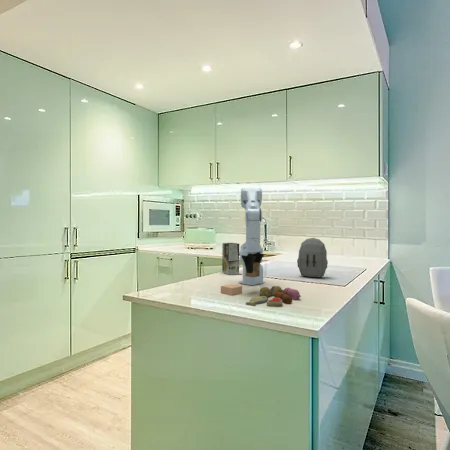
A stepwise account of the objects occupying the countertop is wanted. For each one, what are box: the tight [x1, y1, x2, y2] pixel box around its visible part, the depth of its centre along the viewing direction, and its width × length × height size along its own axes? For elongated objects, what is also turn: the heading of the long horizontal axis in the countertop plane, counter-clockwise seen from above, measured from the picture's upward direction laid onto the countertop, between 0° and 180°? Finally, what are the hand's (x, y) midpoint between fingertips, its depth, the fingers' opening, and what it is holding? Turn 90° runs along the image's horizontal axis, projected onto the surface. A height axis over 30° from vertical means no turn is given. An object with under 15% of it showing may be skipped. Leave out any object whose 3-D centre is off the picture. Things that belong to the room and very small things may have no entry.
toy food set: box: [245, 285, 301, 308], centre depth 129 cm, size 26×16×4 cm, turn 158°
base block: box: [220, 283, 243, 296], centre depth 139 cm, size 6×6×3 cm
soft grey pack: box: [296, 237, 329, 278], centre depth 178 cm, size 15×8×20 cm, turn 65°
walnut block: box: [246, 262, 261, 277], centre depth 142 cm, size 4×4×6 cm
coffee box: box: [221, 242, 240, 276], centre depth 187 cm, size 9×6×16 cm
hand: (252, 272), depth 142 cm, fingers closed on walnut block, 5 cm apart
